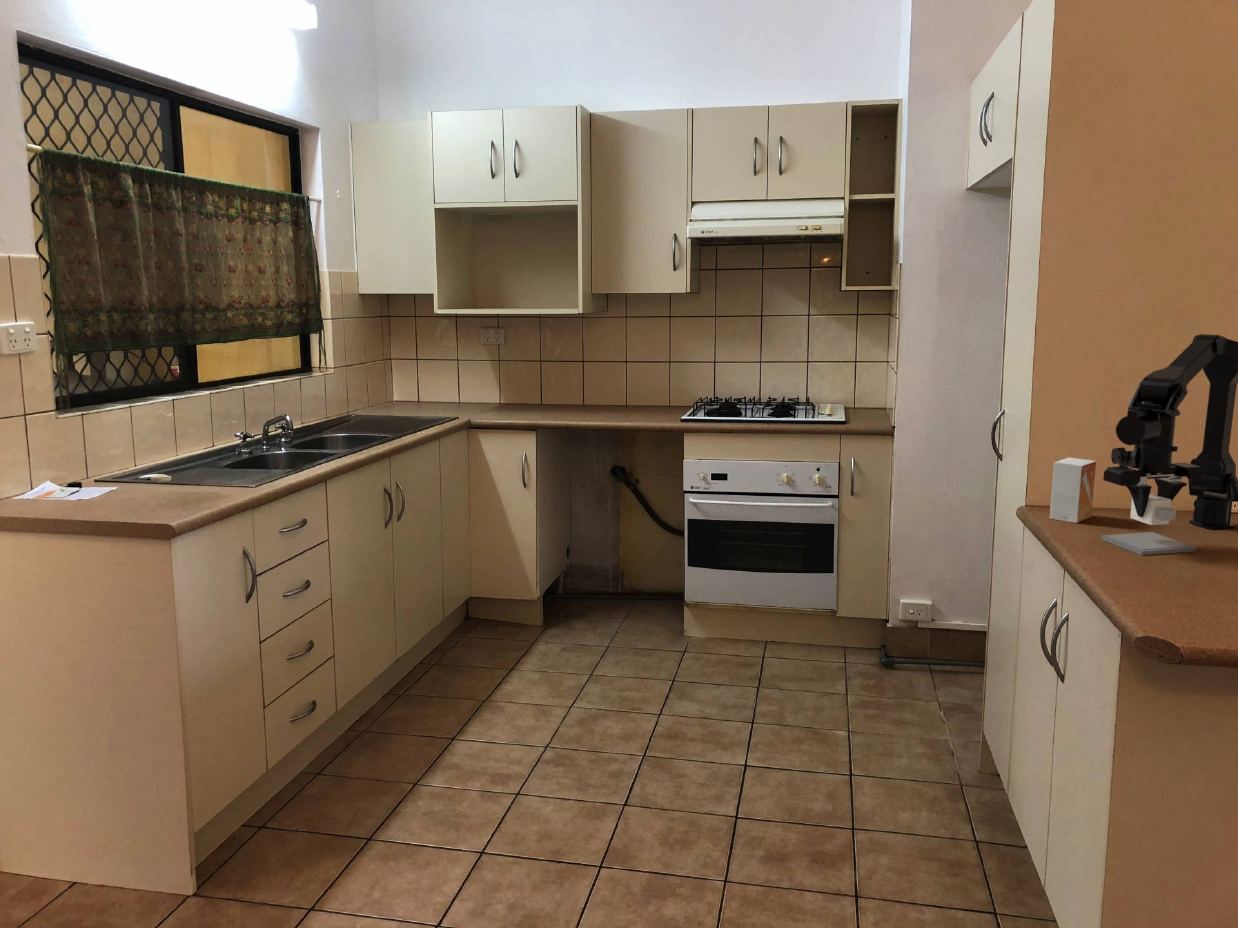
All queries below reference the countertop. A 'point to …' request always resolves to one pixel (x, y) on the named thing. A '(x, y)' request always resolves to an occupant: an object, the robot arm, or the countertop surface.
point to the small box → (1072, 489)
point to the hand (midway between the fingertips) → (1149, 515)
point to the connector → (1155, 511)
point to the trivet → (1147, 543)
